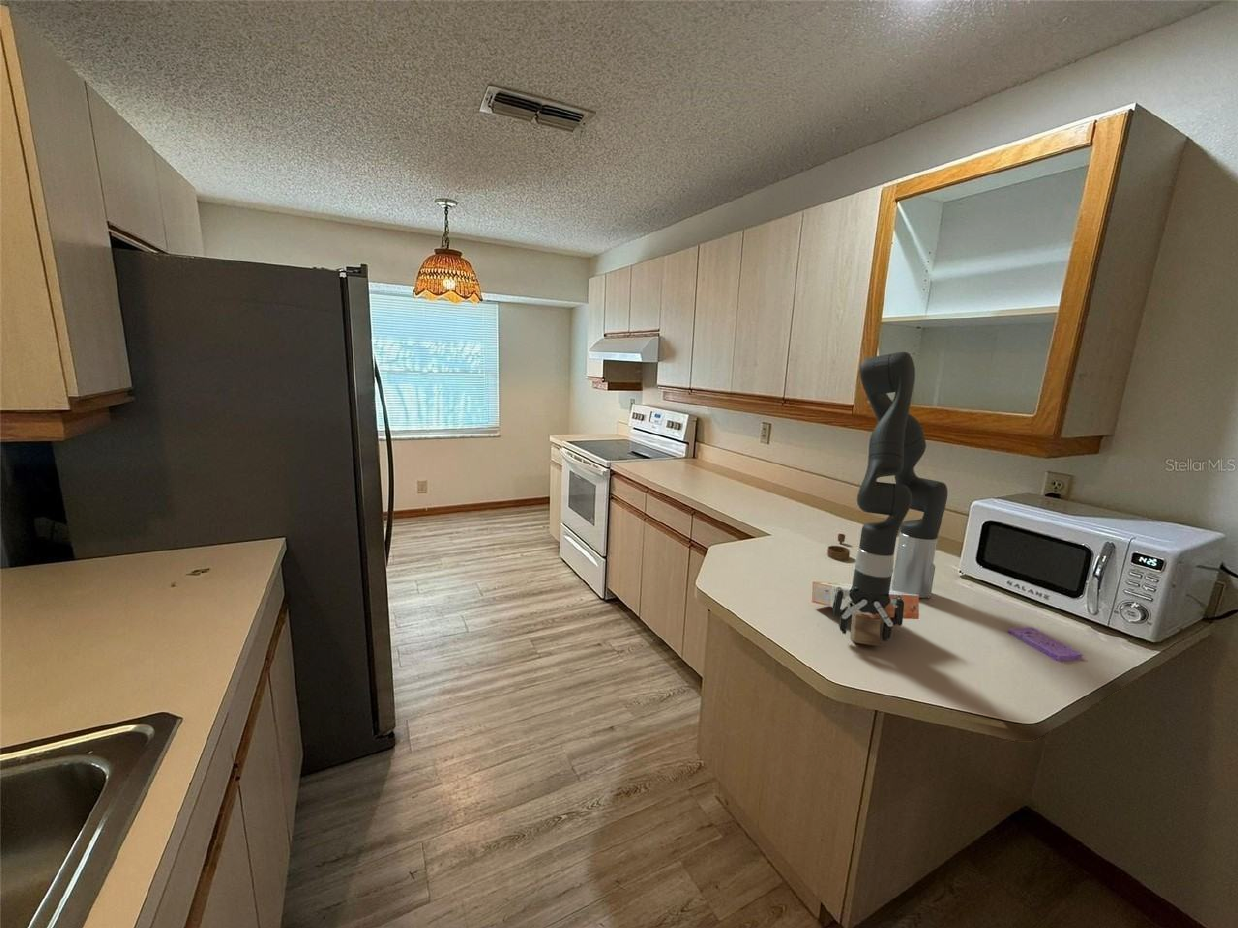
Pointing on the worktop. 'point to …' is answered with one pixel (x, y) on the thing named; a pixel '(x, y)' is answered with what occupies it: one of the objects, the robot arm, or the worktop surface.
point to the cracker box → (826, 594)
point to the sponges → (1045, 644)
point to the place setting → (839, 550)
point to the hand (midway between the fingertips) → (863, 635)
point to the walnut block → (865, 629)
